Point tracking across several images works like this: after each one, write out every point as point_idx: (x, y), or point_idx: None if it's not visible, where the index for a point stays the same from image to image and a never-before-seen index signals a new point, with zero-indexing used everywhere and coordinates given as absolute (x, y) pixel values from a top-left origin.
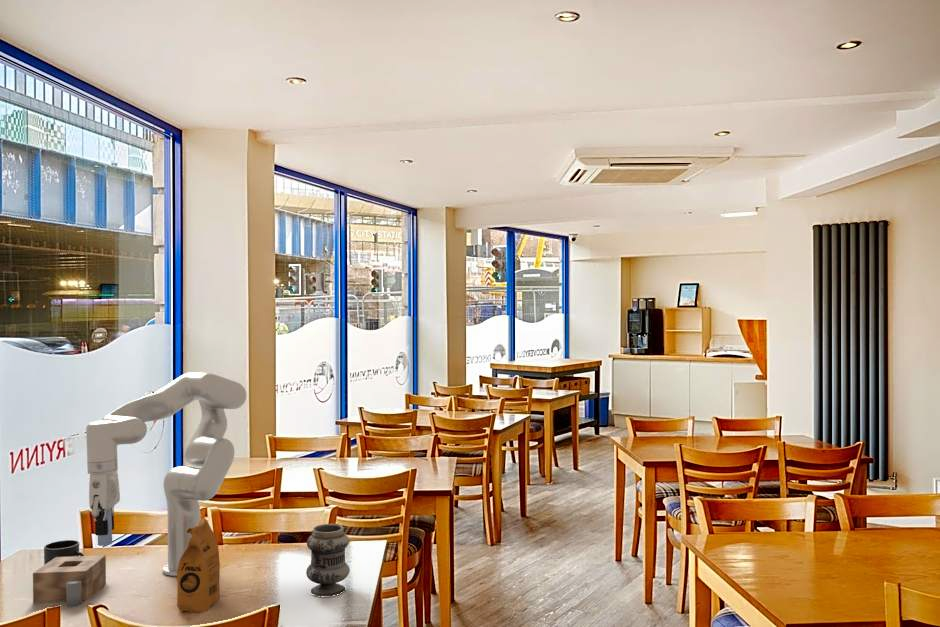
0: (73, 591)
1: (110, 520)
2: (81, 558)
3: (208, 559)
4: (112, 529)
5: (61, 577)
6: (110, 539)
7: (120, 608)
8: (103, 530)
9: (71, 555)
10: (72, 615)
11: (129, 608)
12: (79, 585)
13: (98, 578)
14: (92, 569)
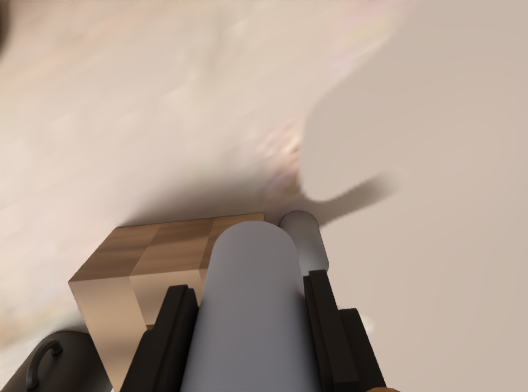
0: (323, 244)
1: (259, 359)
2: (122, 340)
3: None
4: (191, 289)
5: None
6: (265, 238)
7: (340, 64)
8: (354, 315)
9: (55, 387)
10: (385, 190)
11: (343, 29)
12: (310, 241)
13: (162, 238)
14: (202, 260)
